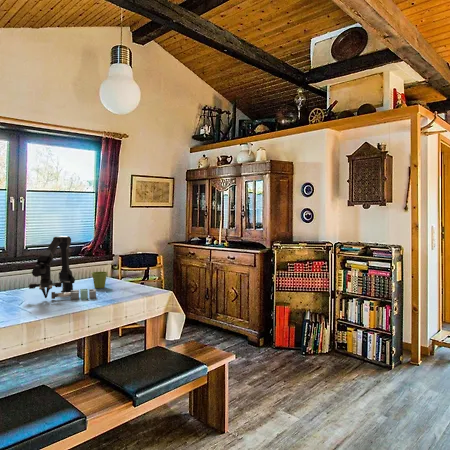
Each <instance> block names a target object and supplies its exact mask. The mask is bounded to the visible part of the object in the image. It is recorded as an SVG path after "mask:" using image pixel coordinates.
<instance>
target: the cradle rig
mask: <svg viewBox="0 0 450 450" xmlns="http://www.w3.org/2000/svg"><path fill="white" fill-rule="evenodd" d="M88 297H89V298H88V299H89V300H92V299H94V300H95V299H97V288H89V289H88ZM75 300H77V301H79V300H80V290H79V289H73V290H71V296H70V301H75Z"/></svg>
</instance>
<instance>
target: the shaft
mask: <svg viewBox="0 0 450 450" xmlns="http://www.w3.org/2000/svg"><path fill="white" fill-rule="evenodd" d="M50 295H51V296H50V297H51V300H53V299H56V298H66V297H67V298H68V297H71V292H56V291H51V294H50Z"/></svg>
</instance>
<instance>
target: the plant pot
mask: <svg viewBox="0 0 450 450" xmlns="http://www.w3.org/2000/svg"><path fill="white" fill-rule="evenodd" d="M107 275H108V271H93V272H91V276H92V279H93V286H94V289H103V288H105V287H106V280H107Z"/></svg>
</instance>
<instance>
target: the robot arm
mask: <svg viewBox="0 0 450 450" xmlns="http://www.w3.org/2000/svg"><path fill="white" fill-rule="evenodd" d="M71 245H72V238H71V237H70V236H68V235H67V236H66V235H64V236H63V235H60V236H54V237H53V238H52V241H51V242H50V244H49V245H48V247H47V248H46V250H45V251H43V252H42V253H41V254H40V255H39V256H38V259H37V261H36V262H35V263H36V264H35V265H34V268H32V269H31V274H32V276H33V277H34V278H37V277H40V281H39V282H40V283H37V282H30V283H29V284H28V289H29V290H32V289H36V288H39V290H40V291H42V294H43V297H44V299H47V297H48V295H49V292H50V290H51V289H52V288H53V287H55V288H62V290H60V293H67V292H71V290H74V285H73V284H74V283H75V282H76V279H75V277H74V276H73V272H72V270H71V268H70V255H69V253H70V252H69V250H70V249H69V248H70V246H71ZM58 248H60V258H61V259H60V260H61V261H60V262H61V269H60V271H59V272H58V279H59V280H58V281H57V280H56V281H54V282H53V279H52V278H51V274H52V273H51V267H53V264H52V262H53V259H54V254H55V252H56V250H57V249H58Z"/></svg>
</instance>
